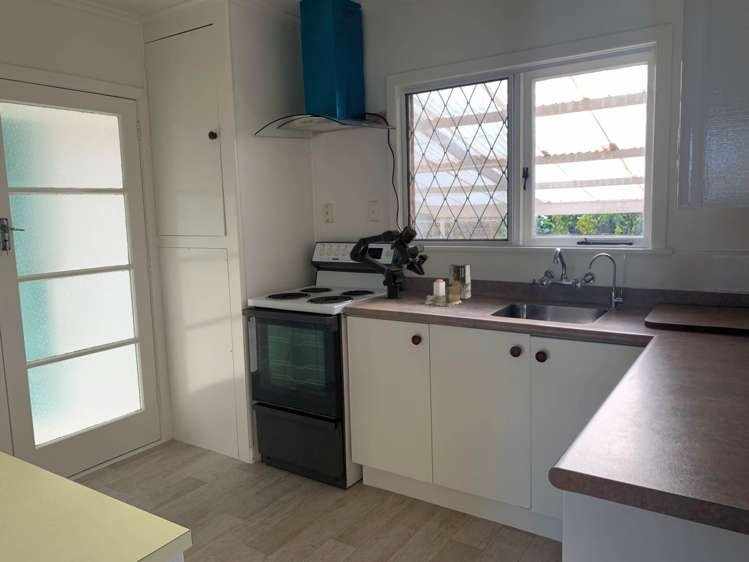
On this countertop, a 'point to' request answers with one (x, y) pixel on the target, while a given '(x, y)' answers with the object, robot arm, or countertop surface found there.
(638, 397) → the countertop surface
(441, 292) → the white shaker
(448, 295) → the mount
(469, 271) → the coffee box
